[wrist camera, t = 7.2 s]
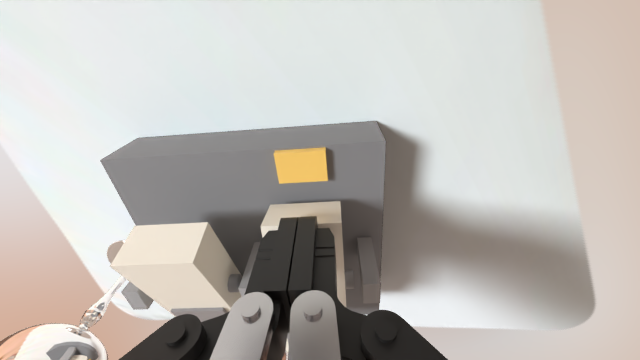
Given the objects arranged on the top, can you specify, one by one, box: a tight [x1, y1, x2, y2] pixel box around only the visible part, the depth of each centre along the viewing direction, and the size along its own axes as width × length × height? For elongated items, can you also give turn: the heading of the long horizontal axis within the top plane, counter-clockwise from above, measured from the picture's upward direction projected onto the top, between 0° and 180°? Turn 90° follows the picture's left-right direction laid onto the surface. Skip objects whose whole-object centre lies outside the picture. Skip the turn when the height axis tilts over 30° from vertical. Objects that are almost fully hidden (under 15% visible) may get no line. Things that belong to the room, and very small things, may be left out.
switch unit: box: [100, 121, 386, 314], centre depth 16 cm, size 13×14×6 cm
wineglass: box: [0, 240, 127, 360], centre depth 16 cm, size 6×6×12 cm
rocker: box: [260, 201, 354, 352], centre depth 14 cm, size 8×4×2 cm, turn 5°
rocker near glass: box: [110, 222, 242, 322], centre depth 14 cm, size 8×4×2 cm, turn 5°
